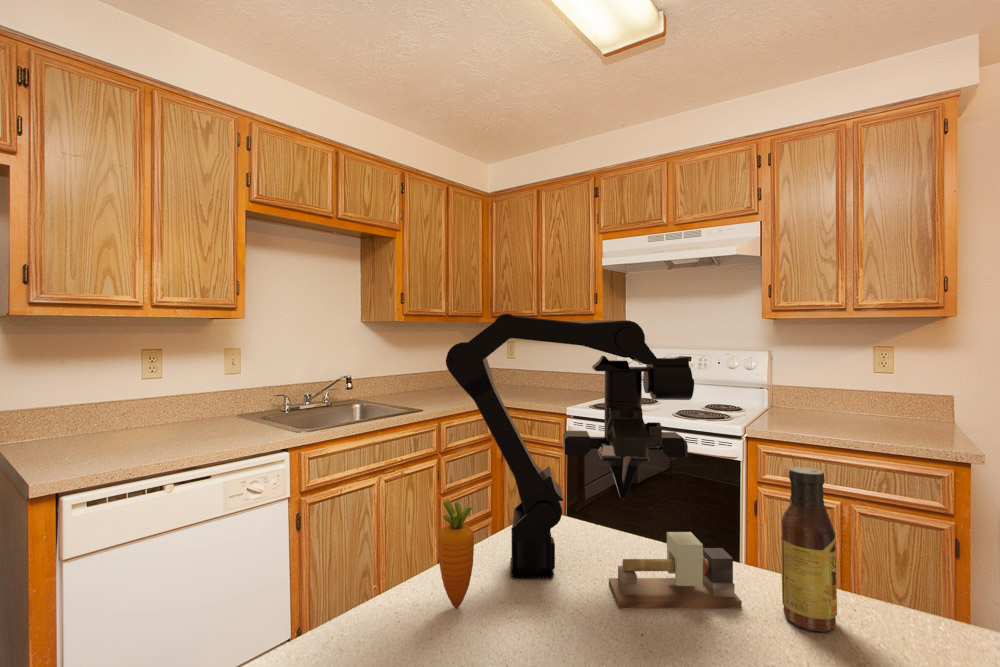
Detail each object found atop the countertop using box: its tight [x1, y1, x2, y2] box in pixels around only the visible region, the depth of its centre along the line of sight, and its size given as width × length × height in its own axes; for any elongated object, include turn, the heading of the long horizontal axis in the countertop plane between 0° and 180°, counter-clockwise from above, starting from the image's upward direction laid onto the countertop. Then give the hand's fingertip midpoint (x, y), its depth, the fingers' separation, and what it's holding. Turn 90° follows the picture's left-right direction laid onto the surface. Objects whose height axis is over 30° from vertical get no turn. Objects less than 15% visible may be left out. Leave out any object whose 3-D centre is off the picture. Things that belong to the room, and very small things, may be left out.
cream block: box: [666, 531, 704, 586], centre depth 73 cm, size 4×4×6 cm
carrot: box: [437, 499, 475, 609], centre depth 70 cm, size 5×5×15 cm
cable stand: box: [608, 547, 743, 609], centre depth 73 cm, size 17×6×6 cm, turn 90°
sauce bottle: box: [780, 466, 838, 633], centre depth 66 cm, size 7×6×20 cm
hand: (622, 497), depth 80 cm, fingers closed
